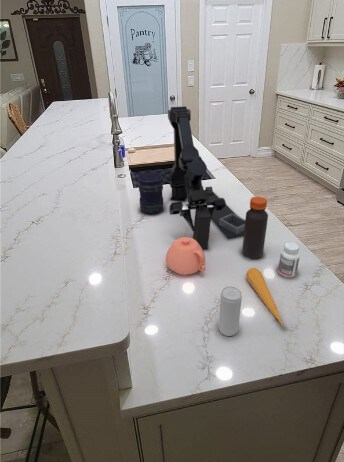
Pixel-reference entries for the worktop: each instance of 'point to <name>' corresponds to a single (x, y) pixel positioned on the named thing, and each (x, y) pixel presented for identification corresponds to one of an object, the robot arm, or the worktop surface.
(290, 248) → the pill bottle
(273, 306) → the carrot
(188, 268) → the pink dome with handle
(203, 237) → the pad block
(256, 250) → the vinegar
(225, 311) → the beverage can
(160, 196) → the storage jar
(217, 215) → the base pad
